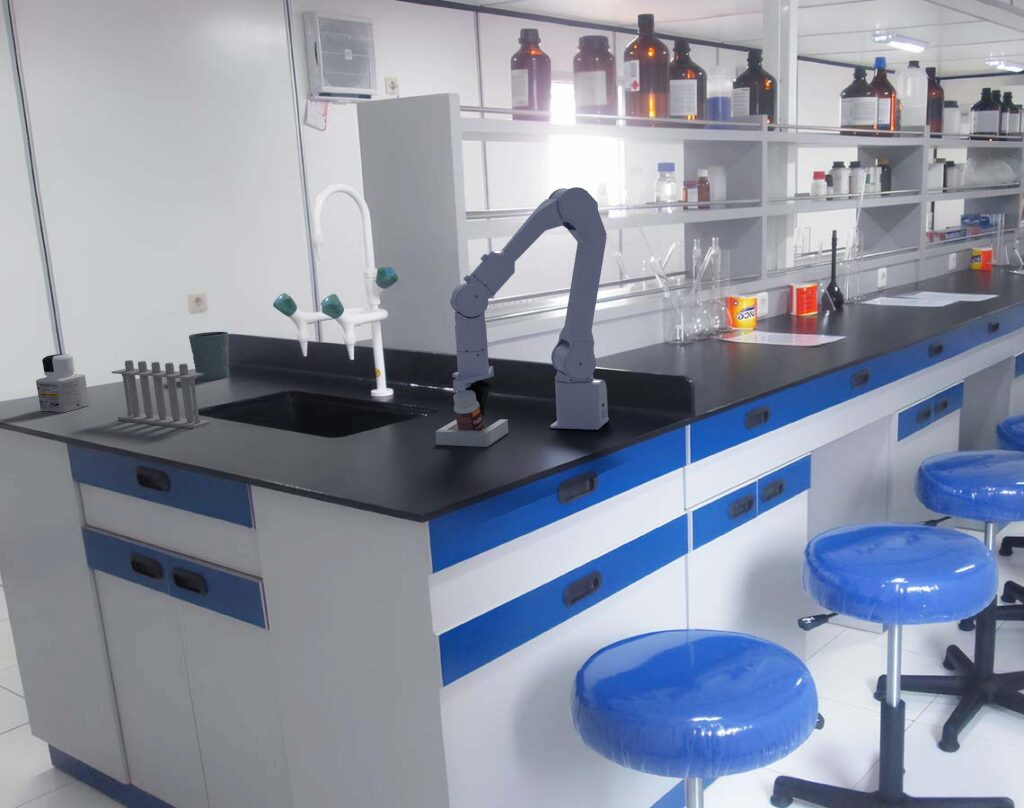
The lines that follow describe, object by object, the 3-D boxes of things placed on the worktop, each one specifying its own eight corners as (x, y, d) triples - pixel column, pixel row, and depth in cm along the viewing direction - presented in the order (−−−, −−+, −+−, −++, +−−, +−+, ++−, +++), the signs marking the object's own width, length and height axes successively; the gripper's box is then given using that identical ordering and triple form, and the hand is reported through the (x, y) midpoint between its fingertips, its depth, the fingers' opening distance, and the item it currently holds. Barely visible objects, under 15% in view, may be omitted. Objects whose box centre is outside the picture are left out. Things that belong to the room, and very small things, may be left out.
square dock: (508, 432, 178) (507, 419, 177) (487, 446, 168) (486, 433, 168) (459, 430, 181) (458, 418, 181) (436, 444, 172) (435, 431, 171)
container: (40, 411, 224) (31, 357, 221) (66, 404, 231) (57, 352, 228) (64, 412, 221) (55, 357, 218) (90, 405, 228) (82, 352, 225)
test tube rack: (211, 424, 200) (203, 362, 197) (194, 429, 196) (186, 366, 194) (135, 416, 213) (126, 358, 210) (118, 420, 209) (109, 361, 207)
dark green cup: (187, 381, 254) (181, 337, 251) (205, 374, 264) (200, 331, 261) (222, 380, 252) (217, 335, 250) (239, 373, 262) (234, 330, 259)
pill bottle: (481, 441, 172) (473, 401, 168) (456, 441, 173) (448, 402, 169) (487, 427, 176) (480, 388, 172) (463, 428, 177) (455, 389, 173)
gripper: (467, 343, 182) (472, 412, 184) (435, 356, 168) (441, 430, 171) (501, 343, 179) (506, 413, 182) (472, 356, 166) (476, 431, 169)
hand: (476, 421), depth 176 cm, fingers closed
